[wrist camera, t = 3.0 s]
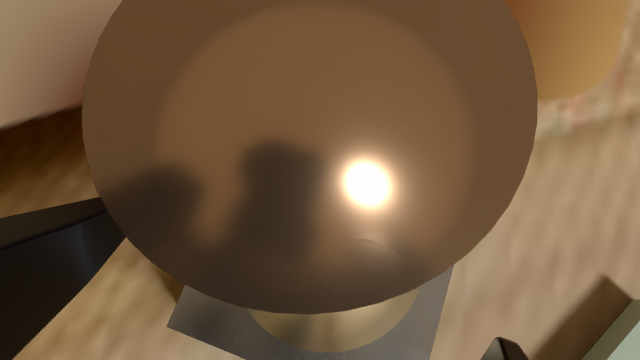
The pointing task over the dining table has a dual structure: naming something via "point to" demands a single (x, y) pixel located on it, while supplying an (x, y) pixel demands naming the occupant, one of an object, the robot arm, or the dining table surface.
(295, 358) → the bore block
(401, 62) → the metallic flared cylinder
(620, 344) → the pad
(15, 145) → the dining table surface
